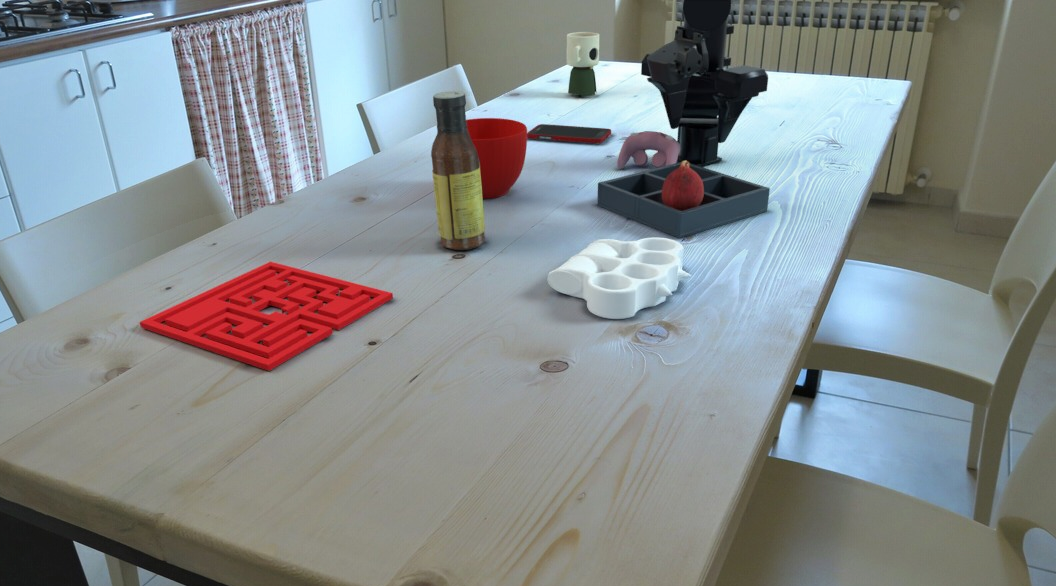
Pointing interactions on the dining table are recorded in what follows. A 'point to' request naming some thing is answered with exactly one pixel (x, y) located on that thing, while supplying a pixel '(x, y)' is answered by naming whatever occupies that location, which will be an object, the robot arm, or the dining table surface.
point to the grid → (718, 207)
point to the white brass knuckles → (622, 275)
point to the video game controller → (649, 141)
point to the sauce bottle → (456, 176)
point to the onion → (683, 188)
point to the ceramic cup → (498, 152)
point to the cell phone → (569, 133)
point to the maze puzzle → (282, 330)
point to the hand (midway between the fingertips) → (697, 135)
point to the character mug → (582, 62)
